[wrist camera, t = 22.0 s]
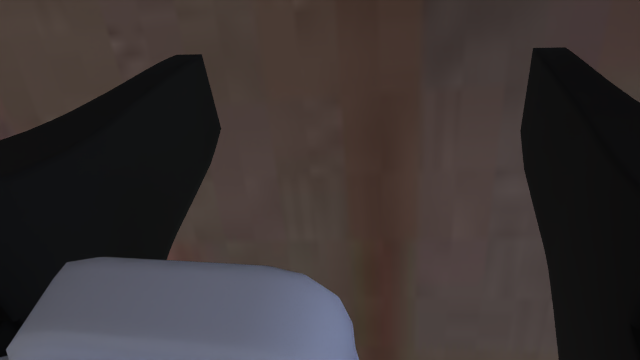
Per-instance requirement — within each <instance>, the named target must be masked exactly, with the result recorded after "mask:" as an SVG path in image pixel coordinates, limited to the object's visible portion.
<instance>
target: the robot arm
mask: <svg viewBox="0 0 640 360" xmlns="http://www.w3.org/2000/svg"><path fill="white" fill-rule="evenodd" d="M220 130H221V127H220V123H219V119H218V115H217V111H216V108H215V104H214V100H213V96H212V92H211V88H210V85H209V81H208V77H207V73H206V69H205V65H204V62H203V58H202V54H199V55H175V56H173V57H170V58H168V59H166V60H164V61H162V62H160V63H158V64H156V65H154V66H152V67H150V68H149V69H147V70H145V71H143V72H142V73H140V74H138V75H136V76H135V77H133V78H131V79H130V80H128V81H126V82H124V83H123V84H121V85H119V86H117V87H116V88H114V89H112V90H110V91H109V92H107V93H105V94H103V95H101V96H99V97H97V98H96V99H94V100H92V101H90V102H88V103H86V104H84V105H82V106H81V107H79V108H77V109H75V110H73V111H71V112H69V113H67V114H65V115H63V116H60V117H58V118H56V119H54V120H52V121H49V122H47V123H45V124H42V125H40V126H38V127H35V128H33V129H31V130H28V131H25V132H23V133H20V134H17V135H14V136H12V137H9V138H6V139H3V140H0V360H359V358H358V355H357V352H356V349H355V340H354V331H353V323H352V321H351V319H350V317H349V315H348V313H347V311H346V310H345V308H344V306H343V304H342V302H341V300H340V298H339V297H338V296H337V295H335V294H334V293H333V292H331V291H330V290H328V289H326V288H325V287H323V286H322V285H320V284H319V283H317V282H316V281H314V280H313V279H311V278H310V277H308V276H307V275H305V274H301V273H297V272H293V271H288V270H284V269H280V268H275V267H271V266H264V265H246V264H228V263H210V262H192V261H173V260H167V257H168V254H169V251H170V248H171V246H172V244H173V241H174V239H175V237H176V234H177V232H178V230H179V228H180V226H181V224H182V222H183V220H184V218H185V216H186V214H187V212H188V210H189V208H190V206H191V204H192V202H193V199H194V197H195V195H196V193H197V191H198V189H199V187H200V185H201V183H202V181H203V179H204V177H205V175H206V172H207V170H208V168H209V166H210V164H211V161H212V158H213V155H214V152H215V148H216V145H217V141H218V138H219V134H220ZM521 141H522V152H523V162H524V170H525V174H526V178H527V182H528V186H529V190H530V194H531V198H532V202H533V206H534V210H535V214H536V218H537V222H538V226H539V230H540V234H541V238H542V241H543V245H544V249H545V254H546V259H547V264H548V270H549V278H550V285H551V293H552V301H553V309H554V319H555V328H556V337H557V346H558V356H559V360H640V103H639V102H638V101H636V100H635V99H633V98H632V97H630V96H629V95H628V94H626V93H625V92H623V91H622V90H621V89H619V88H618V87H616V86H615V85H614V84H612V83H611V82H610V81H608V80H607V79H606V78H604V77H603V76H602V75H601V74H599V73H598V72H597V71H595V70H594V69H593V68H592V67H590V66H589V65H588V64H587V63H585V62H584V61H583V60H582V59H580V58H579V57H578V56H576V55H575V54H574V53H573V52H571V51H570V50H568V49H567V48H533V53H532V59H531V66H530V73H529V79H528V86H527V92H526V99H525V105H524V112H523V119H522V125H521Z"/></svg>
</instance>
